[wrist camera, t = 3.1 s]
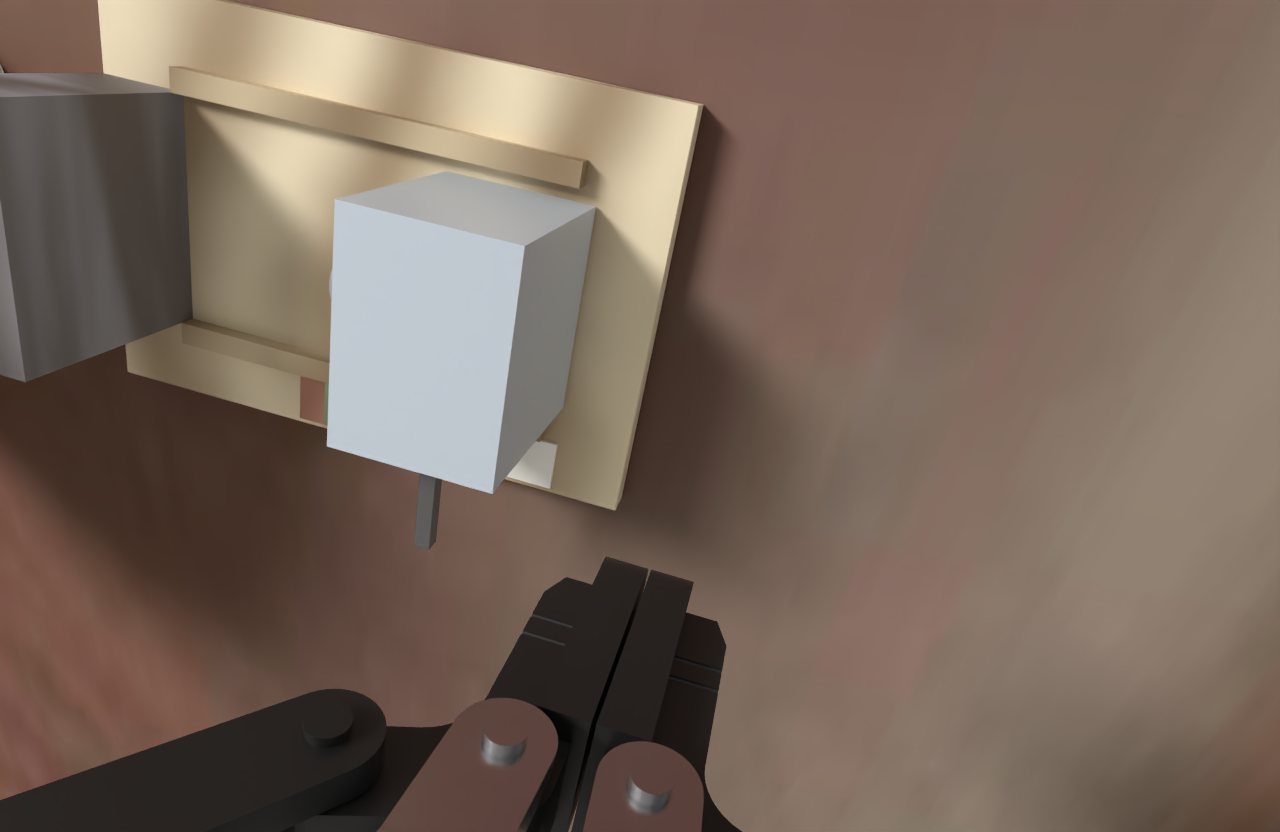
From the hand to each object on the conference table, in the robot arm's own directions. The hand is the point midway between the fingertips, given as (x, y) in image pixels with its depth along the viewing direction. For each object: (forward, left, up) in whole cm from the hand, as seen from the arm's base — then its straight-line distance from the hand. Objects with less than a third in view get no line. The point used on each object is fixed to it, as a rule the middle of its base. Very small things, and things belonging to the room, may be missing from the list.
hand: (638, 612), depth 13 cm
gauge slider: (+9, +2, -14) cm, 17 cm away
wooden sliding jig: (+13, 0, -15) cm, 20 cm away
